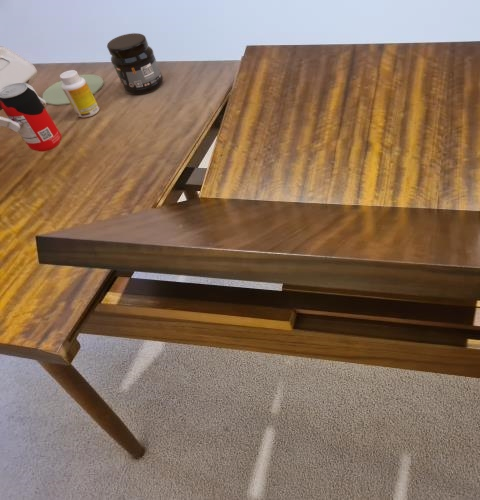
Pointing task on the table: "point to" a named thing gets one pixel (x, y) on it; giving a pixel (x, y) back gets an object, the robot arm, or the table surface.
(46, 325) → the table surface
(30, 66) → the robot arm
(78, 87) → the supplement bottle
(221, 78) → the table surface
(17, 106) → the beverage can
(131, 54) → the supplement container
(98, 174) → the table surface
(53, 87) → the mat
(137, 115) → the table surface
